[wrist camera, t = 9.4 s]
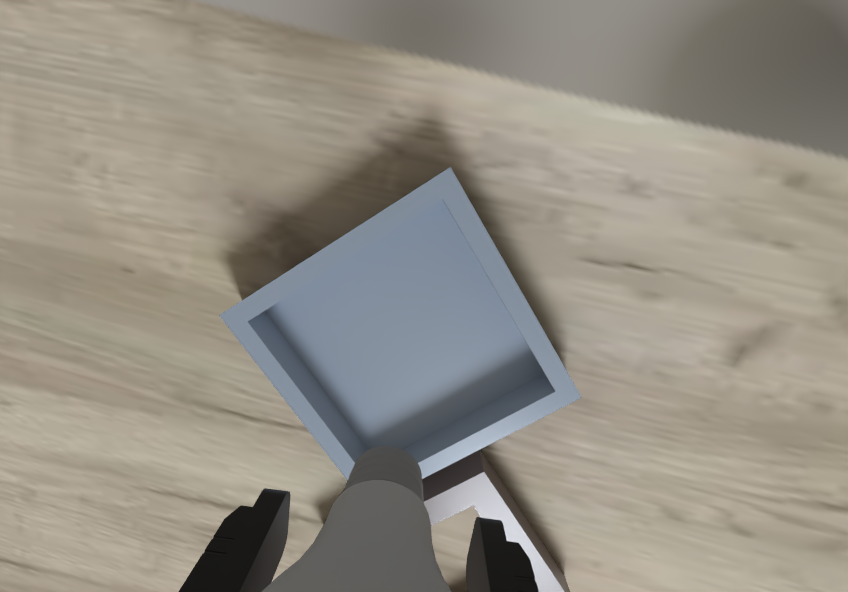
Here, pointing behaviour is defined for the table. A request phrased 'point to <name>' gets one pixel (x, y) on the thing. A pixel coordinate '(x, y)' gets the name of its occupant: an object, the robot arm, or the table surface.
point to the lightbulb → (372, 534)
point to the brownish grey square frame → (489, 511)
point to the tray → (406, 336)
